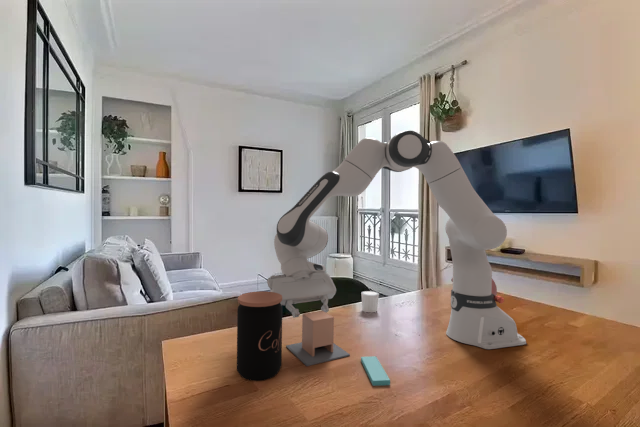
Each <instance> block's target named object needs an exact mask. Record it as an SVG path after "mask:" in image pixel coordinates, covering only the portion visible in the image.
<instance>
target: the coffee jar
mask: <svg viewBox="0 0 640 427" xmlns="http://www.w3.org/2000/svg"><path fill="white" fill-rule="evenodd" d="M281 301H282V295H280V294H279V293H275V292H270V291H250V292H245V293H243V294H239V296H238V297H237V303H238V304H239V305H238V306H237V312H236V313H237V315H236V316H237V319H236V320H237V322H236V324H237V325H236V328H237V330H236V332H237V334H236V371H237V373H238V375H240V377H241V378H243V379H244V380H246V381H252V382H255V381H256V382H261V381H266V380H270V379H272V378H273V377H275V376H276V375H277V374H278V373H279V371H280V369H281V368H282V355H283V353H282V351H283V350H282V349H283V348H282V347H283V345H282V344H283V305H281V304H280V302H281Z"/></svg>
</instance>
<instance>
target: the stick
mask: <svg viewBox="0 0 640 427" xmlns="http://www.w3.org/2000/svg"><path fill="white" fill-rule="evenodd" d="M360 362H361V365H362V366H363V368H364V370H365V373H366V375H367V377H368V378H369V381H370V383H371V386H373V387H374V386H375V387H376V386H391V378H389V376H388V373H387V372H386V371H385V368H384V367H383V365H382V364H381V362H380V360H379V359H378V357H377V356H375V355H374V356H373V355H372V356H360Z"/></svg>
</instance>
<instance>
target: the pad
mask: <svg viewBox="0 0 640 427" xmlns="http://www.w3.org/2000/svg"><path fill="white" fill-rule="evenodd" d="M285 346H286V347H285V348H286V349H288V350H289V351H290V352H291V353H292V354H293V355H294V356H295V357H296V358H297V359H298V360H299V361H300V362H301V363H302V364H304V366H306V367H309V366H313V365H317V364H322V363H325V362H330V361H334V360H339V359H343V358H346V357H350V355H351V354H350V353H348V351H346V350H344V348H342V347H340V346H338V345H337V344H336V343H334V342H333V352H330V351H329V350H328V349H326V348H325V347H324V346H321V347H316V348H315V355H314V356H313V357H312V356H311V355H310V354H309V353H308V352H307V351H305V350H304V349H303V348H302V341H301V342H295V343H293V344H292V343H291V344H287V345H285Z"/></svg>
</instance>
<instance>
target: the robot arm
mask: <svg viewBox="0 0 640 427" xmlns="http://www.w3.org/2000/svg"><path fill="white" fill-rule="evenodd" d="M412 168H416V169H417V170H418V171H420V172H421V174H423V178H424V180H425V181H426V183H427V185H428V187H429V189H430V191H431V193H432V195H433V196H434V198H435V200H436V203H437V205H438V206H439V207H440V208H442V209H443V211H444V212H445V213H446V215H447V216H448V217H449V219H447V221H446V223H445V226H444V227H445V233H446V236H447V237H448V244H449V249H450V255H451V260H452V277H453V282H452V289H451V290H450V308H451V309H450V310H451V311H450V316H449V321H448V322H449V323H448V326H447V329H446V332H445V334H446V335H447V337H448V338H450V339H452V340H454V341H457V342H459V343H462V344H466V345H471V346H475V347H479V348H482V349H485V350H494V349H502V348H508V347H517V346H523V345H527V340H526V338H525V337H524V336H523V335H521V334H520V333H518V328H517V324H516V322H515V320H514V319H513V318H512V317H511V316H510V315H509V314H508V313H507V312H505V311H504V310H503V309H501V308H500V307H499V306H497V305H498V304H497V303H499V304H503V303H504V302H505V298H504V296H501V295H499V294H498V295H496V296H495V295H494V294H492V293H491V289H492V279H493V278H492V276H493V269H492V266H491V264H490V262H489V259H488V256H487V252H486V251H487V250H488V251H489V250H493V249H497V248H498V247H500V246H501V245H503V243H504V242H505V241H506V238H507V235H508V232H507V231H508V230H507V226H506V223H504V221H503V220H502V219H500V218H499V217H498V216H497V215H496V214H494V212H493V211H492V209H490V208H489V207H488V205H487V204H486V203H485V201H484V200H483V199H482V198H481V197H480V196H479V194H478V193H477V192H476V189H475V188H474V187H473V185H472V184H471V181H470V180H469V177H468V176H467V174H466V172H465V171H464V169H463V167H462V165H461V163H460V161H459V159H458V157H457V156H456V155H455V153H454V152H453V151H452V149H451V148H450V147H449V145H448V144H447V143H445V142H444V141H443V140H434V141H433V140H432V141H430V140H428V139H427V138H425V137H424V136H423V135H421V134H420V133H419V132H417V131H414V130H411V129H408V130H402V131H399V132H397V133H395V135H393V136H392V137H391V138H390V139H389V140H388V141H387V142H382V141H380V140H379V139H377V138H375V137H364V138H362V139H361V140H360V141H359V142H357V143H356V145H355V146H354V147H353V148H352V149H351V150H350V151H349V152H348V154H347V155H346V156H345V158H344V159H343V160H342V162H341V163H340V164H339V165H338V166H337V167H336V168H335V169H333V170H332V171H328V172H326V173H324V175H322V176H321V177H319V179H318V180H317V181H316V182H315V183H314V184H313V185H312V186H311V188H309V189H308V190H307V192H305V194H304V195H303V196H302V197H301V198H300V200H298V201H297V203H296V204H295V205H294V206H292V207H291V208H290V210H288V211H287V212H286V213H284V214H283V215H282V216H281V217H280V218H279V220H278V222H277V224H276V233H275V236H274V239H273V240H274V241H273V243H274V244H273V245H274V250H275V254H276V257H277V258H276V259H277V260H278V262H279V263H280V270H281V273H282V274H278V275H270V276H269V277H268V278H267V281H266V283H267V287H268V288H269V290H270V291H269V292H275V293H279V294H280V295H282V301H281V302H280V304H281V305H282V306H285V308H286V309H287V310H288V311H289V312H290V313H291V314H292V318H295V319H296V318H298V317H300V315H301V313H300V312H299V311H300V310H299V308H295V307H294V305H295V304H301V303H302V304H303V303H308V302H315V301H321V303H322V304H323V305H321V307H320V311H324V312H326V313H328V312H329V310H330V307H329V306H328V303H329V300H331V299H333V298H334V296H335V295H336V293H337V288H336V285H335V283H334V281H333V279H332V277H331V276H330V274H329V273H328V272H326V271H327V267H326V266H325V265H324V264H320V263H315V262H311V261H309V259H310V258H313V257H315V256H316V255H318V254H320V253H321V252H323V251H324V250H325V248H326V247H327V245H328V241H329V235H328V232H327V230H326V229H325V228H324V227H322V226H321V225H320V224H317V223H316V222H314V221H312V220H310V219H311V218H312V217H313V215H314V214H315V213H317V211H318V210H319V209H320V208H321V207H322V206H323V204H325V202H326V201H327V200H328V199H330V198H332V197H339V196H340V197H349V198H351V197H352V198H353V197H356V196H359V195H361V194H362V193H363V192H365V191H366V189H367V188H369V186H370V184H371V183H372V181H373V180H374V178H375V177H376V175H377V174H378V173H379V171H381V169H384V170H388V171H390V172H394V173H395V172H396V173H400V172H401V173H402V172H405V171H408V170H410V169H412Z"/></svg>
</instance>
